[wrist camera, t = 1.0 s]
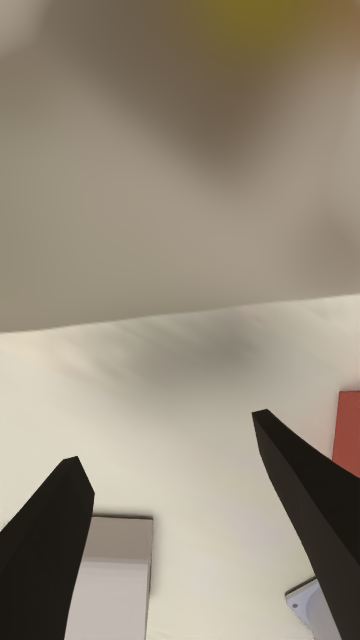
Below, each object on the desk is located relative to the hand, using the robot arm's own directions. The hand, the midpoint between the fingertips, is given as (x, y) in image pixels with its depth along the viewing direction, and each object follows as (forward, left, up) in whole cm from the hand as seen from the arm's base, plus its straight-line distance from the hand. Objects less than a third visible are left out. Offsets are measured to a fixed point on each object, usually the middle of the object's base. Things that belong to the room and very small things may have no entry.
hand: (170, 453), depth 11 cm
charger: (-9, +19, -11) cm, 23 cm away
